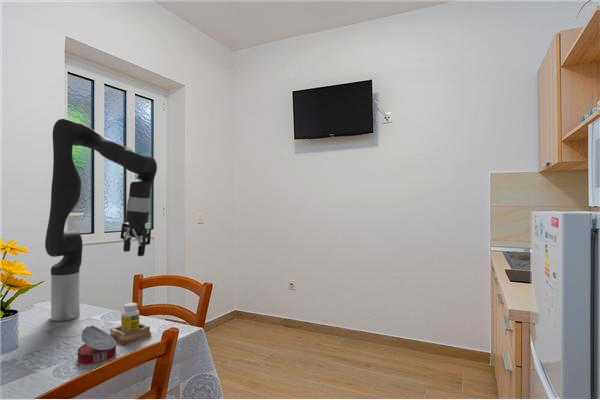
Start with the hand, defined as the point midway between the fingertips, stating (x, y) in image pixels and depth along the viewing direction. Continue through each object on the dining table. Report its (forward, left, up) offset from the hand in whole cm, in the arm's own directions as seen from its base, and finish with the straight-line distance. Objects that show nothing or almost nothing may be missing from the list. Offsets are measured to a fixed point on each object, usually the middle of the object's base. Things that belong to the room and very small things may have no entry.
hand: (133, 253), depth 130 cm
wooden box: (+10, -7, -26) cm, 29 cm away
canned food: (+15, -21, -26) cm, 37 cm away
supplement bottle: (+10, -7, -25) cm, 28 cm away
